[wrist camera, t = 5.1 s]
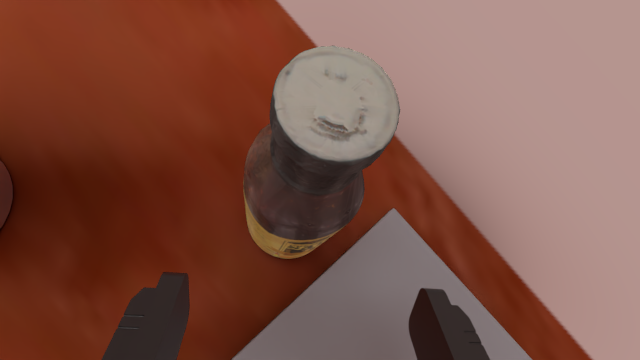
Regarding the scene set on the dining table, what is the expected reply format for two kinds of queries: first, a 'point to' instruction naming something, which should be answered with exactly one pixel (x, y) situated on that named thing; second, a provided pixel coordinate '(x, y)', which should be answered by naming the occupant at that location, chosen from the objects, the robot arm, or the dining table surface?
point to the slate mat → (373, 304)
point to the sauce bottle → (317, 149)
